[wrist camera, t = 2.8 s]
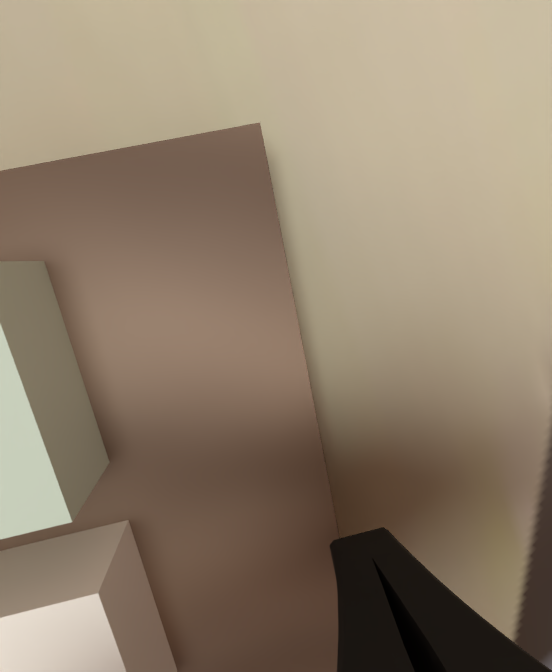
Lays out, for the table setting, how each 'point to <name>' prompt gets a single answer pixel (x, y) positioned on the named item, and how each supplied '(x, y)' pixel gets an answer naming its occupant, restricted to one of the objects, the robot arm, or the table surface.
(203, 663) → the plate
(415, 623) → the robot arm
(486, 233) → the table surface
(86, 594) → the tile cream
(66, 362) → the tile green
